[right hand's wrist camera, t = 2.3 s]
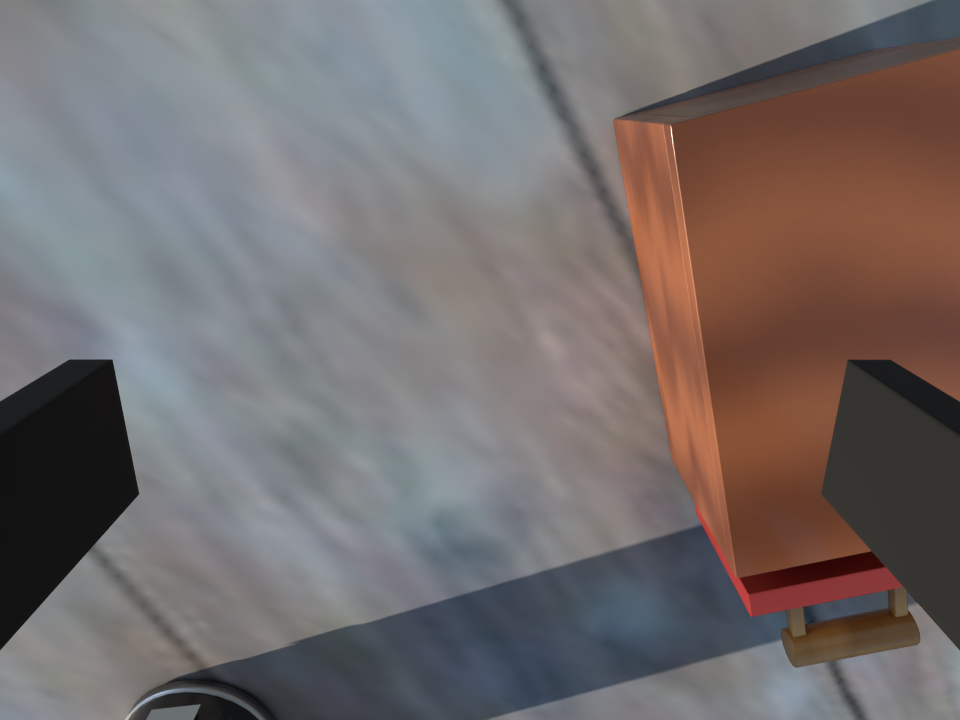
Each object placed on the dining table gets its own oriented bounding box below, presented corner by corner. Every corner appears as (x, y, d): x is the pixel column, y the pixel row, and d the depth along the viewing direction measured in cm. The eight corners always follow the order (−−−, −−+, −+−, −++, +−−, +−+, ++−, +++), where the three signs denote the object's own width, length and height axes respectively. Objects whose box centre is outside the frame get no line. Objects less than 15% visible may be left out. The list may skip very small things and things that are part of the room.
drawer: (897, 563, 36) (999, 674, 29) (710, 600, 37) (765, 717, 30) (879, 152, 29) (1010, 168, 22) (646, 210, 30) (698, 243, 23)
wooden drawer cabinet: (893, 411, 34) (1037, 518, 25) (671, 460, 35) (736, 579, 26) (878, 49, 28) (1058, 22, 19) (612, 118, 29) (669, 124, 20)
